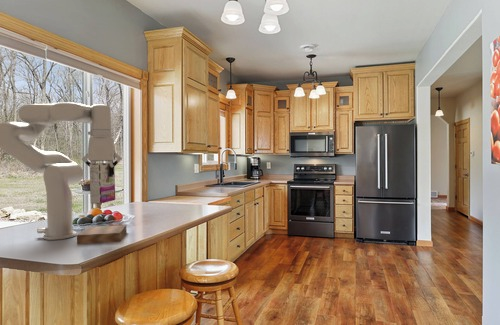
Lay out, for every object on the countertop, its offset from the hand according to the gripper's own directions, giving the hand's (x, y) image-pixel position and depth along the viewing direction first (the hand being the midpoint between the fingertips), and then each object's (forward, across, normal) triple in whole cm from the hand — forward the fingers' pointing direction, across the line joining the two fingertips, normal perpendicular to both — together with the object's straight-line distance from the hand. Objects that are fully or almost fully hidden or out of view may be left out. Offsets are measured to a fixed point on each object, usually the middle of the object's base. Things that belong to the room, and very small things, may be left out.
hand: (102, 176), depth 140 cm
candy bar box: (+11, 0, 0) cm, 11 cm away
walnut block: (+27, 0, 0) cm, 27 cm away
